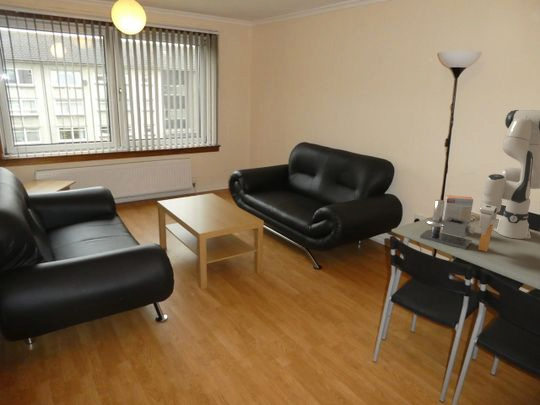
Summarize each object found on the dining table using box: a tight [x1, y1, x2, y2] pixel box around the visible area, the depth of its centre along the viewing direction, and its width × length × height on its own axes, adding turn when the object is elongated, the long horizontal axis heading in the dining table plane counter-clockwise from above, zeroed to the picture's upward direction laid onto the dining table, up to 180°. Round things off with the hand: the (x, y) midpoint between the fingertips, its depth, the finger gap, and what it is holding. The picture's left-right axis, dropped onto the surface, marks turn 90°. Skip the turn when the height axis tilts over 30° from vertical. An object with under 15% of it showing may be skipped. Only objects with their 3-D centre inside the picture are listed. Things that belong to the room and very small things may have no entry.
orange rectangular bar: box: [477, 224, 494, 253], centre depth 205 cm, size 3×4×14 cm
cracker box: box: [441, 194, 474, 232], centre depth 230 cm, size 14×6×21 cm, turn 76°
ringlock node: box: [419, 199, 476, 250], centre depth 215 cm, size 12×25×22 cm, turn 50°
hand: (486, 232), depth 203 cm, fingers open, 8 cm apart
